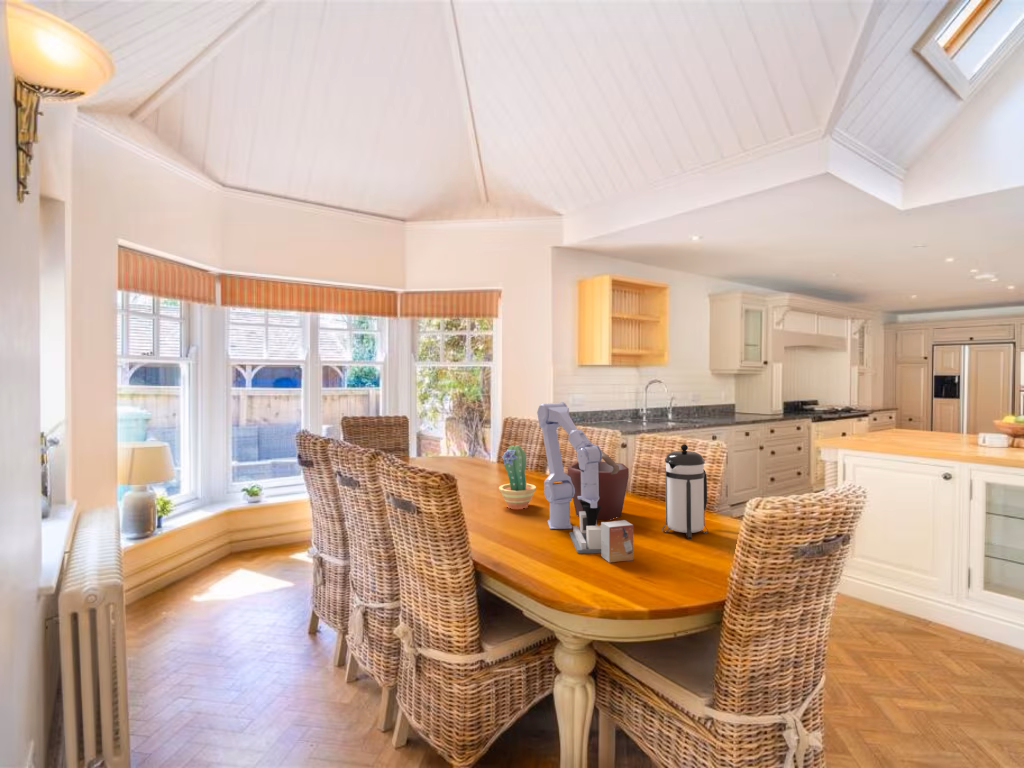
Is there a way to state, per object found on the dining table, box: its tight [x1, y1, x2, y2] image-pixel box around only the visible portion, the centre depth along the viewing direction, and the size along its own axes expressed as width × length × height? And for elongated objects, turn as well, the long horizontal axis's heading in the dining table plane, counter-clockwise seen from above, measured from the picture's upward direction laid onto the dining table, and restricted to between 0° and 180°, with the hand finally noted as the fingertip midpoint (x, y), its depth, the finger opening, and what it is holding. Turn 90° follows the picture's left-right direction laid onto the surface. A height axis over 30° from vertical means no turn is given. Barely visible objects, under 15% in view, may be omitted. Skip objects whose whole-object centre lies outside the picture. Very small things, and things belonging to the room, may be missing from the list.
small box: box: [600, 519, 634, 563], centre depth 155 cm, size 8×6×10 cm
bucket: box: [567, 450, 630, 521], centre depth 201 cm, size 24×22×25 cm
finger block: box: [578, 511, 598, 533], centre depth 171 cm, size 4×5×6 cm
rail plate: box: [569, 524, 601, 554], centre depth 169 cm, size 18×12×7 cm, turn 2°
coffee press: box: [661, 443, 709, 540], centre depth 179 cm, size 17×16×30 cm
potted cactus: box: [498, 444, 537, 510], centre depth 215 cm, size 15×15×25 cm
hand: (590, 524), depth 172 cm, fingers closed on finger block, 4 cm apart
